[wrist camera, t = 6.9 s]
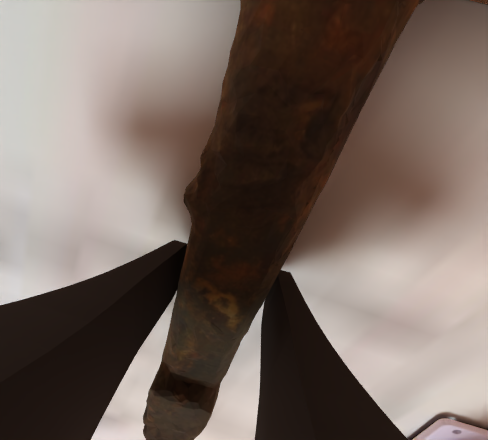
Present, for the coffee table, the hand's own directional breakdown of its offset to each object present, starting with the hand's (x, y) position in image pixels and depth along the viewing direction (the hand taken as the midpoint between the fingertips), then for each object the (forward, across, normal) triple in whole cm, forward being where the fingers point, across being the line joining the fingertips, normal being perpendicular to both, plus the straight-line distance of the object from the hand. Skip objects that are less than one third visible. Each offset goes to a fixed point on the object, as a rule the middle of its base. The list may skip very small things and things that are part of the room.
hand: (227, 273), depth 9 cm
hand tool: (+2, 0, 0) cm, 2 cm away
